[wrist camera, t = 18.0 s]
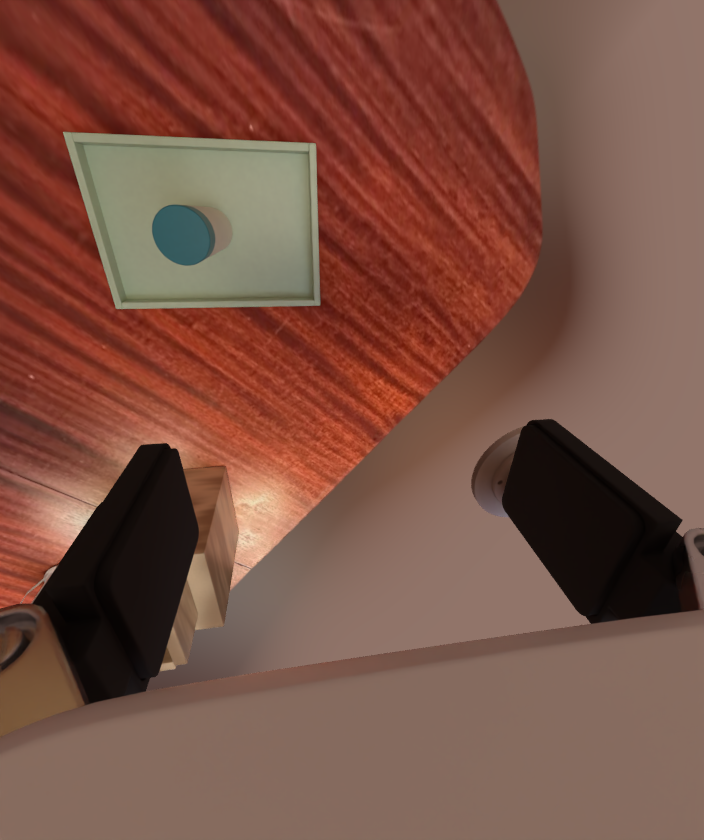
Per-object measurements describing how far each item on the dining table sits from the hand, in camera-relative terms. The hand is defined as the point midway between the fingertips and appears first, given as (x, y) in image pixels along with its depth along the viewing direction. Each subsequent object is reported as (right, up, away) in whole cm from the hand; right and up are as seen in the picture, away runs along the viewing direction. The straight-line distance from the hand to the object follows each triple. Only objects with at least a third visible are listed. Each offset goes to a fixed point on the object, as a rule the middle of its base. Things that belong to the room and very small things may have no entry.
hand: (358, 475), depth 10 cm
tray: (-13, +19, +24) cm, 33 cm away
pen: (-13, +19, +23) cm, 33 cm away
